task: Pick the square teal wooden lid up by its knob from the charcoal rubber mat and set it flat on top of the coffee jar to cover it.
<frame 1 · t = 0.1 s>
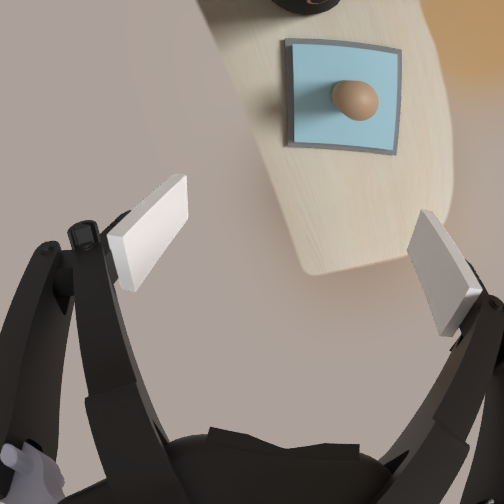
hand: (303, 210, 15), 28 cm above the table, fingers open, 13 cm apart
lid: (345, 95, 33), point 1 cm above the table, touching mat
mat: (344, 95, 34), on the table
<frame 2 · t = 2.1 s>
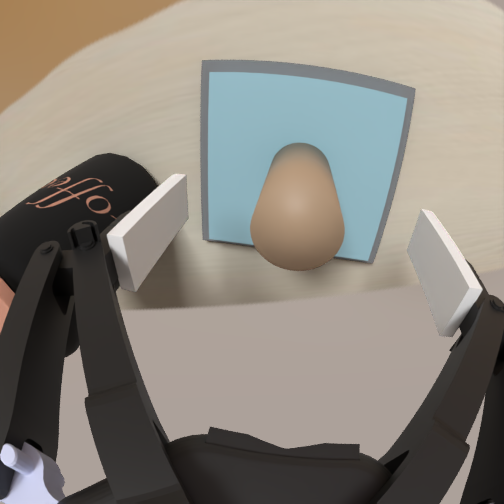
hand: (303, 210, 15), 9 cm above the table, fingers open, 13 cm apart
coffee jar: (122, 198, 27), on the table
lid: (300, 166, 22), point 1 cm above the table, touching mat
mat: (300, 163, 22), on the table
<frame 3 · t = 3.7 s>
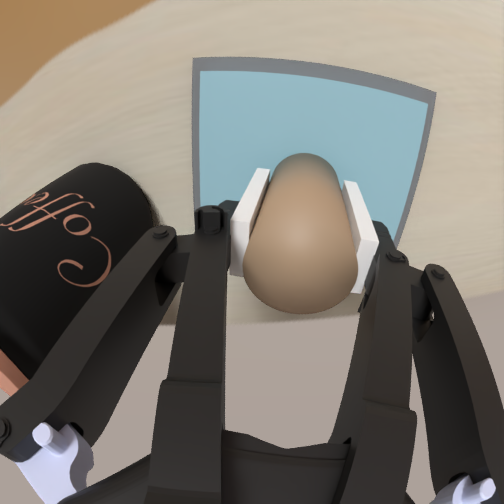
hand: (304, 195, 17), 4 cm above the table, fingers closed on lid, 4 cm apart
coffee jar: (110, 210, 25), on the table
lid: (305, 179, 19), point 1 cm above the table, touching gripper, mat
mat: (305, 175, 20), on the table
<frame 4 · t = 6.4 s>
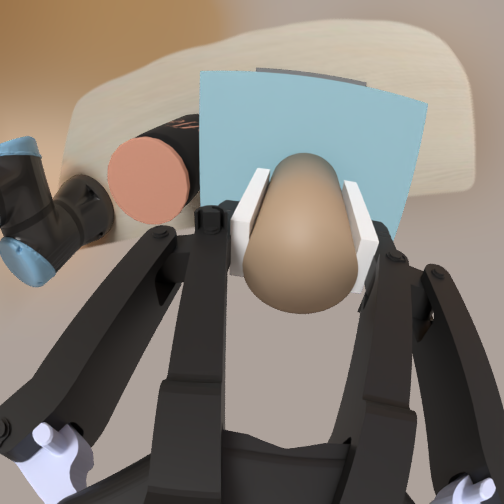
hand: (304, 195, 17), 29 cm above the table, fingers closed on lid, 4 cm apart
coffee jar: (198, 143, 45), on the table
lid: (305, 179, 19), point 26 cm above the table, touching gripper
mat: (306, 123, 40), on the table
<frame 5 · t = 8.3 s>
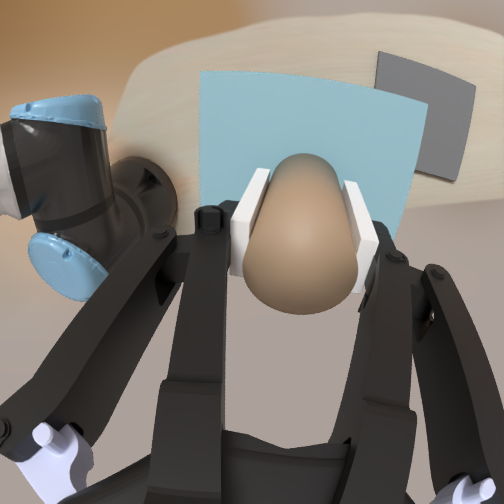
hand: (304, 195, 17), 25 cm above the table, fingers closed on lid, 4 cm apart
lid: (305, 179, 19), point 22 cm above the table, touching gripper
mat: (422, 117, 33), on the table
when the fingers open (23 cm above the table, at t = 9.4 s): lid drops 3 cm, resting on coffee jar.
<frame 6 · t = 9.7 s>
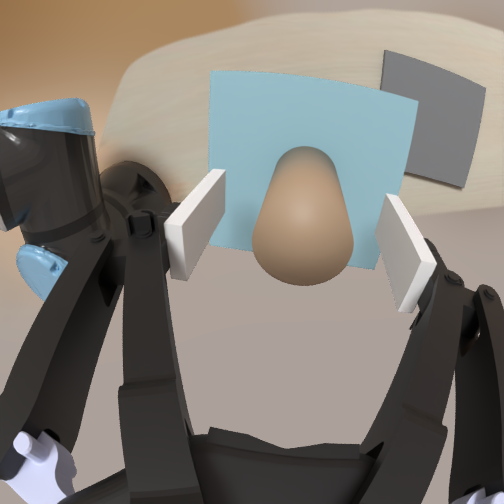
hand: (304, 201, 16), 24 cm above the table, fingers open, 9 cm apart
lid: (305, 171, 21), point 18 cm above the table, touching coffee jar
mat: (430, 121, 30), on the table
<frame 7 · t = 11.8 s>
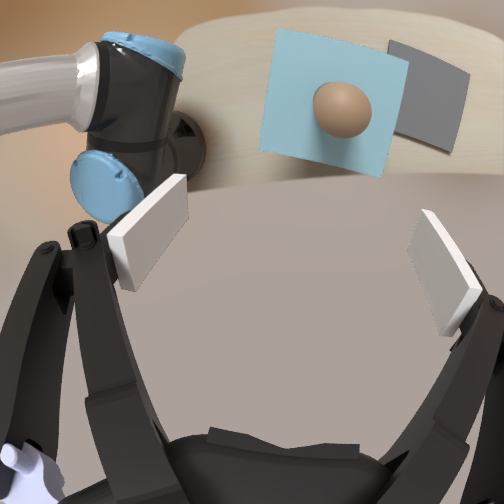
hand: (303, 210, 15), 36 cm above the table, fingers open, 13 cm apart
lid: (333, 101, 27), point 18 cm above the table, touching coffee jar
mat: (424, 96, 37), on the table
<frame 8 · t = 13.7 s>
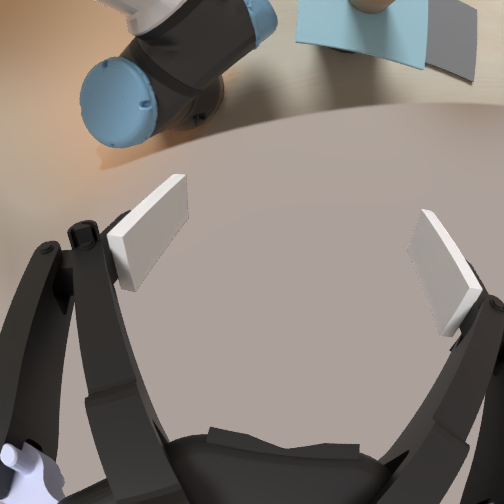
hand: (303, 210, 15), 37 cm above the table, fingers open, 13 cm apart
mat: (438, 28, 29), on the table
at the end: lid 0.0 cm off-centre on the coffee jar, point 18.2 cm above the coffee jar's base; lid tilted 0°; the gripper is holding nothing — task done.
